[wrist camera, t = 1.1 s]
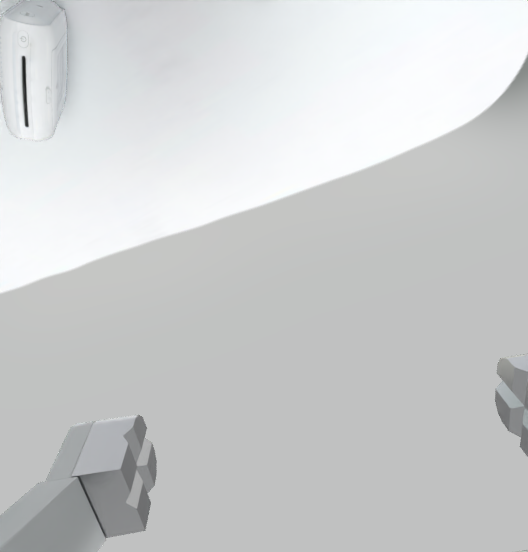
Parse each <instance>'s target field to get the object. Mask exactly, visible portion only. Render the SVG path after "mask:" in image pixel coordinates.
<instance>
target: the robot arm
mask: <svg viewBox="0 0 528 552" xmlns="http://www.w3.org/2000/svg"><path fill="white" fill-rule="evenodd" d="M497 374H498V375H499V376H500V378H501V379H502V380H503V381H502V382H501V383H500V384H499V386H498V387H497V388H496V395H495V402H496V406H497V410H498V414H499V416H500V418H501V420H502V422H503V424H504V425H505V426H506V428H507V429H508V431H510V432H512V433H514V434H516V435H517V436H519V437H521V443H520V447H521V448H522V450H523V451H524V452H525V454H526V455H527V456H528V354H523V355H517V356H511V357H505V358H500V360H499V362H498V366H497ZM146 429H147V427H146V425H145V422H144V419H143V417H142V416H140V415H134V416H128V417H120V418H112V419H104V420H98V421H92V422H85V423H78V424H75V425H73V426H72V427H71V428H70V430H69V432H68V434H67V436H66V438H65V440H64V443H63V444H62V447H61V449H60V451H59V453H58V455H57V458H56V459H55V462H54V464H53V466H52V468H51V470H50V472H49V474H48V477H47V479H46V481H45V482H40V483H38V484H36V485H35V486H34V487H33V488H32V489H31V490H29V491H28V492H27V493H26V494H25V495H24V496H22V497H21V498H20V499H19V500H18V501H17V502H15V503H14V504H13V505H12V506H11V507H10V508H9V509H7V510H6V511H5V512H4V513H3V514H1V515H0V552H98V550H99V549H100V548H101V546H102V545H103V544H104V542H105V541H106V538H108V537H113V536H119V535H124V534H130V533H135V532H140V531H145V529H146V524H147V520H148V515H149V510H150V505H151V502H150V499H149V496H148V494H147V493H148V492H149V491H150V490H151V489H152V488H153V487H154V485H155V480H156V456H155V450H154V447H153V444H152V443H151V442H150V441H149V440H147V439H146V438H145V434H146ZM518 552H528V550H525V551H518Z"/></svg>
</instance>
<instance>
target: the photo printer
mask: <svg viewBox="0 0 528 552" xmlns="http://www.w3.org/2000/svg"><path fill="white" fill-rule="evenodd" d="M0 87H1V97H2V105H3V112H4V118H5V122H6V125H7V127H8V130H9V132H10V133H11V134H12V135H13V136H15V137H17V138H19V139H29V140H33V141H43V140H47V139H49V138H51V137H52V136H53V135H54V132H55V129H56V126H57V123H58V121H59V118H60V115H61V112H62V110H63V107H64V104H65V99H66V88H67V21H66V15H65V10H64V9H61V8H60V7H59V6H58V5H57V4H56V3H54V2H53V1H51V0H29V1H27V0H22V1H20V2H19V3H17V4H16V5H14V6H13V7H12V8H10V9H9V10H7V11H6V12H5V13H3V14H2V17H1V21H0Z"/></svg>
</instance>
